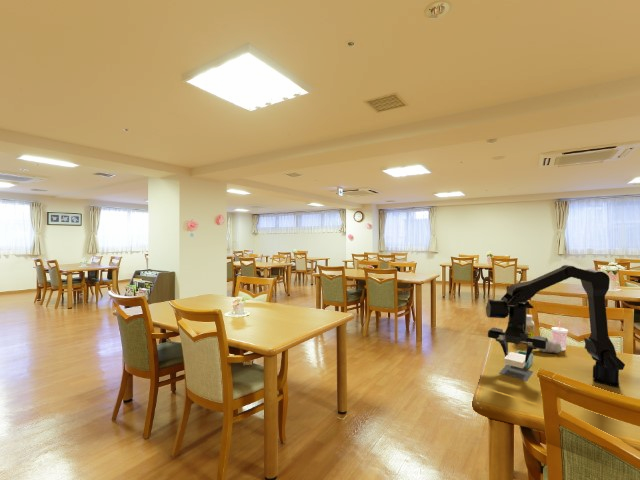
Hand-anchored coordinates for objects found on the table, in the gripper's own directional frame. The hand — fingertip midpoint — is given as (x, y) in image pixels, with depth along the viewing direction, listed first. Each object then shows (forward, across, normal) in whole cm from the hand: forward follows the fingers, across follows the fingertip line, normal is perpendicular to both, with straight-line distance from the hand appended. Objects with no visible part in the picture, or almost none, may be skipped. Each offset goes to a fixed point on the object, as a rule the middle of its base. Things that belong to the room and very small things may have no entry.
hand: (516, 360), depth 122 cm
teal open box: (+5, 0, +11) cm, 12 cm away
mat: (+5, 0, 0) cm, 5 cm away
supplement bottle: (+5, -5, +43) cm, 44 cm away
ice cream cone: (+5, +3, +33) cm, 34 cm away
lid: (+1, 0, 0) cm, 1 cm away
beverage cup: (+5, +8, +43) cm, 44 cm away
